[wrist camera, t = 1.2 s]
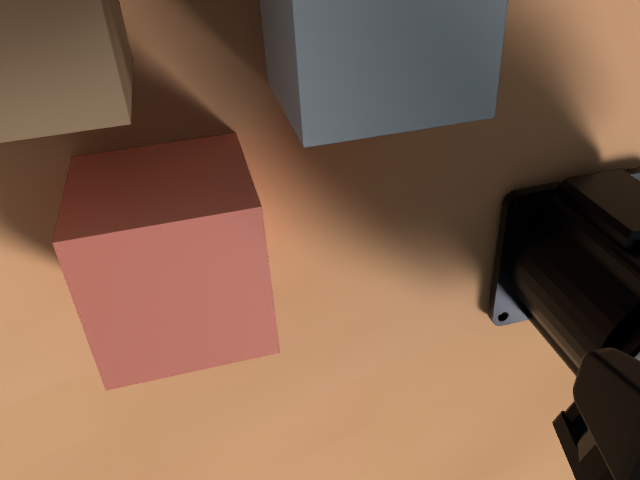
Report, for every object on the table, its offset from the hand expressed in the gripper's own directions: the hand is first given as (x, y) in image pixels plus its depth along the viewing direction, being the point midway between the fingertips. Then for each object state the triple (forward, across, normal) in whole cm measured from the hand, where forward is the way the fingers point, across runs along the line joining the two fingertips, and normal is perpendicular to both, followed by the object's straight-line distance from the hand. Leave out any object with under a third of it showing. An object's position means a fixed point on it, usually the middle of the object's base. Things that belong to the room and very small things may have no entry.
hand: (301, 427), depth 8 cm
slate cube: (+12, -4, -4) cm, 14 cm away
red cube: (+12, +2, +3) cm, 13 cm away
